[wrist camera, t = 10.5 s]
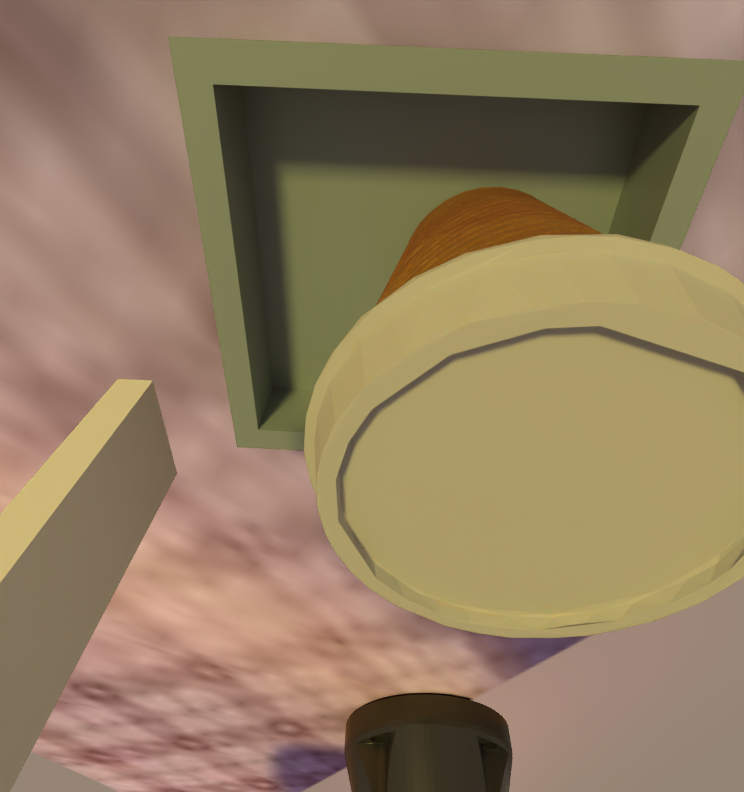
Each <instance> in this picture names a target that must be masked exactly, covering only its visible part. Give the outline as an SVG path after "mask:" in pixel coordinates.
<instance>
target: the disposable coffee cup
mask: <svg viewBox="0 0 744 792" xmlns="http://www.w3.org/2000/svg"><path fill="white" fill-rule="evenodd" d="M304 454H305V458H306V463H307V467H308V472H309V476H310V481H311V483H312V486H313V488H314V490H315V493H316V495H317V508H318V511H319V514H320V518H321V521H322V524H323V527H324V531H325V534H326V536H327V538H328V540H329V541H330V543H331V545H332V547H333V549H334V550H335V552H336V554H337V555H338V556H339V557H340V559H341V560H342V561H343V562H344V564H345V565H346V566H347V567H348V569H349V570H350V571H351V572H352V573H353V574H354V575H355V576H356V577H357V578H358V579H360V580H361V581H362V582H363V583H364V584H365V585H366V586H367V587H369V588H370V589H371V590H373V591H374V592H376V593H377V594H379V595H380V596H382V597H383V598H385V599H387V600H388V601H390V602H391V603H393V604H394V605H396V606H398V607H401V608H403V609H406V610H408V611H410V612H413V613H415V614H418V615H420V616H423V617H425V618H428V619H430V620H433V621H435V622H437V623H440V624H442V625H445V626H448V627H453V628H457V629H461V630H466V631H470V632H474V633H481V634H488V635H495V636H502V637H508V638H562V637H576V636H588V635H594V634H600V633H605V632H611V631H616V630H620V629H624V628H628V627H632V626H636V625H640V624H644V623H648V622H652V621H655V620H658V619H660V618H663V617H666V616H668V615H671V614H673V613H676V612H678V611H681V610H684V609H686V608H688V607H691V606H693V605H696V604H699V603H701V602H703V601H705V600H706V599H708V598H710V597H711V596H713V595H715V594H716V593H718V592H719V591H721V590H723V589H724V588H726V587H728V586H729V585H731V584H732V583H734V582H736V581H738V580H739V579H741V578H743V577H744V283H742V282H741V281H739V280H738V279H736V278H735V277H733V276H732V275H730V274H729V273H728V272H726V271H725V270H723V269H722V268H720V267H719V266H716V265H714V264H711V263H709V262H706V261H704V260H702V259H699V258H697V257H694V256H692V255H690V254H687V253H685V252H683V251H680V250H678V249H676V248H673V247H671V246H667V245H663V244H658V243H654V242H650V241H645V240H641V239H636V238H632V237H627V236H623V235H618V234H602V233H600V232H599V231H597V230H594V229H592V228H591V227H590V226H588V225H585V224H584V223H582V222H579V221H577V220H576V219H575V218H572V217H570V216H569V215H567V214H564V213H562V212H561V211H559V210H556V209H555V208H553V207H551V206H549V205H548V204H545V203H544V202H541V201H540V200H538V199H536V198H535V197H533V196H531V195H529V194H527V193H524V192H522V191H519V190H516V189H510V188H505V187H481V188H477V189H473V190H469V191H465V192H462V193H460V194H458V195H456V196H453V197H451V198H449V199H447V200H446V201H444V202H443V203H442V204H440V205H439V206H438V207H436V208H435V209H434V210H432V211H431V212H430V213H429V214H428V215H427V216H426V217H425V218H424V219H423V220H422V221H421V222H420V224H419V225H418V227H417V228H416V230H415V231H414V233H413V234H412V236H411V238H410V240H409V243H408V245H407V247H406V249H405V251H404V252H403V254H402V256H401V258H400V260H399V262H398V264H397V266H396V268H395V270H394V271H393V273H392V275H391V277H390V279H389V281H388V283H387V285H386V287H385V289H384V291H383V293H382V294H381V297H380V299H379V300H378V302H377V304H376V306H375V307H373V308H372V309H371V310H369V311H368V312H367V313H365V314H364V315H363V316H361V317H360V319H359V320H358V321H357V322H356V324H355V325H354V326H353V328H352V329H351V330H350V331H349V333H348V334H347V335H346V336H345V338H344V339H343V340H342V341H341V343H340V344H339V345H338V346H337V348H336V349H335V350H334V352H333V353H332V354H331V356H330V357H329V359H328V361H327V363H326V365H325V367H324V369H323V371H322V373H321V375H320V376H319V378H318V380H317V382H316V384H315V387H314V390H313V394H312V397H311V401H310V404H309V408H308V411H307V415H306V422H305V439H304Z"/></svg>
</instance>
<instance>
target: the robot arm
mask: <svg viewBox="0 0 744 792" xmlns="http://www.w3.org/2000/svg"><path fill="white" fill-rule="evenodd" d="M176 474H177V472H176V468H175V464H174V460H173V456H172V452H171V449H170V445H169V441H168V437H167V433H166V429H165V426H164V422H163V418H162V414H161V410H160V406H159V403H158V399H157V395H156V391H155V387H154V383H153V381H148V380H127V379H118V380H117V381H116V382H115V383H114V384H113V385H112V386H111V388H110V389H109V390H108V391H107V392H106V393H105V395H104V396H103V397H102V398H101V399H100V400H99V401H98V403H97V404H96V405H95V406H94V407H93V408H92V409H91V411H90V412H89V413H88V414H87V415H86V416H85V418H84V419H83V420H82V421H81V422H80V423H79V424H78V426H77V427H76V428H75V429H74V430H73V431H72V432H71V434H70V435H69V436H68V437H67V438H66V439H65V441H64V442H63V443H62V444H61V445H60V446H59V447H58V449H57V450H56V451H55V452H54V453H53V454H52V455H51V457H50V458H49V459H48V460H47V461H46V462H45V464H44V465H43V466H42V467H41V468H40V469H39V470H38V472H37V473H36V474H35V475H34V476H33V477H32V478H31V480H30V481H29V482H28V483H27V484H26V485H25V487H24V488H23V489H22V490H21V491H20V492H19V493H18V495H17V496H16V497H15V498H14V499H13V500H12V501H11V503H10V504H9V505H8V506H7V507H6V508H5V510H4V511H3V512H2V513H1V514H0V792H10V790H11V788H12V786H13V785H14V783H15V781H16V779H17V777H18V775H19V773H20V771H21V769H22V767H23V766H24V764H25V762H26V760H27V758H28V756H29V754H30V752H31V750H32V748H33V747H34V745H35V743H36V741H37V739H38V737H39V735H40V733H41V731H42V729H43V727H44V726H45V724H46V722H47V720H48V718H49V716H50V714H51V712H52V710H53V708H54V707H55V705H56V703H57V701H58V699H59V697H60V695H61V693H62V691H63V689H64V687H65V686H66V684H67V682H68V680H69V678H70V676H71V674H72V672H73V670H74V668H75V667H76V665H77V663H78V661H79V659H80V657H81V655H82V653H83V651H84V649H85V647H86V646H87V644H88V642H89V640H90V638H91V636H92V634H93V632H94V630H95V628H96V627H97V625H98V623H99V621H100V619H101V617H102V615H103V613H104V611H105V609H106V607H107V606H108V604H109V602H110V600H111V598H112V596H113V594H114V592H115V590H116V588H117V587H118V585H119V583H120V581H121V579H122V577H123V575H124V573H125V571H126V569H127V568H128V566H129V564H130V562H131V560H132V558H133V556H134V554H135V552H136V550H137V548H138V547H139V545H140V543H141V541H142V539H143V537H144V535H145V533H146V531H147V529H148V528H149V526H150V524H151V522H152V520H153V518H154V516H155V514H156V512H157V510H158V508H159V507H160V505H161V503H162V501H163V499H164V497H165V495H166V493H167V491H168V489H169V488H170V486H171V484H172V482H173V480H174V478H175V476H176ZM344 750H345V760H346V765H347V770H348V774H349V780H350V785H351V790H352V792H509V786H510V775H511V767H512V748H511V742H510V735H509V729H508V725H507V723H506V721H505V719H504V718H503V717H502V716H501V715H500V714H499V713H497V712H496V711H495V710H492V709H491V708H489V707H487V706H485V705H483V704H480V703H477V702H474V701H471V700H467V699H463V698H458V697H452V696H444V695H428V694H421V695H404V696H397V697H391V698H386V699H382V700H378V701H375V702H372V703H370V704H367V705H365V706H363V707H361V708H360V709H358V710H357V711H355V712H354V713H353V714H352V715H351V716H350V717H349V719H348V721H347V724H346V734H345V749H344Z"/></svg>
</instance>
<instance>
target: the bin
mask: <svg viewBox="0 0 744 792" xmlns="http://www.w3.org/2000/svg"><path fill="white" fill-rule="evenodd" d="M168 40H169V45H170V51H171V57H172V63H173V69H174V75H175V81H176V87H177V93H178V99H179V105H180V111H181V117H182V123H183V129H184V135H185V141H186V147H187V152H188V158H189V164H190V170H191V176H192V182H193V188H194V194H195V200H196V206H197V212H198V218H199V224H200V230H201V236H202V242H203V248H204V254H205V260H206V265H207V271H208V277H209V283H210V289H211V295H212V301H213V307H214V313H215V319H216V325H217V331H218V337H219V343H220V349H221V355H222V361H223V367H224V373H225V378H226V384H227V390H228V396H229V402H230V408H231V414H232V420H233V426H234V432H235V438H236V444H237V447H246V448H265V449H285V450H304V439H305V422H306V415H307V411H308V408H309V404H310V401H311V397H312V394H313V390H314V387H315V384H316V382H317V380H318V378H319V376H320V375H321V373H322V371H323V369H324V367H325V365H326V363H327V361H328V359H329V357H330V356H331V354H332V353H333V352H334V350H335V349H336V348H337V346H338V345H339V344H340V343H341V341H342V340H343V339H344V338H345V336H346V335H347V334H348V333H349V331H350V330H351V329H352V328H353V326H354V325H355V324H356V322H357V321H358V320H359V319H360V317H361V316H363V315H364V314H365V313H367V312H368V311H369V310H371V309H372V308H373V307H375V306H376V304H377V302H378V300H379V299H380V297H381V294H382V293H383V291H384V289H385V287H386V285H387V283H388V281H389V279H390V277H391V275H392V273H393V271H394V270H395V268H396V266H397V264H398V262H399V260H400V258H401V256H402V254H403V252H404V251H405V249H406V247H407V245H408V243H409V240H410V238H411V236H412V234H413V233H414V231H415V230H416V228H417V227H418V225H419V224H420V222H421V221H422V220H423V219H424V218H425V217H426V216H427V215H428V214H429V213H430V212H431V211H432V210H434V209H435V208H436V207H438V206H439V205H440V204H442V203H443V202H444V201H446V200H447V199H449V198H451V197H453V196H456V195H458V194H460V193H462V192H465V191H469V190H473V189H477V188H481V187H505V188H510V189H516V190H519V191H522V192H524V193H527V194H529V195H531V196H533V197H535V198H536V199H538V200H540V201H541V202H544V203H545V204H548V205H549V206H551V207H553V208H555V209H556V210H559V211H561V212H562V213H564V214H567V215H569V216H570V217H572V218H575V219H576V220H577V221H579V222H582V223H584V224H585V225H588V226H590V227H591V228H592V229H594V230H597V231H599V232H600V233H602V234H618V235H623V236H627V237H632V238H636V239H641V240H645V241H650V242H654V243H658V244H663V245H667V246H671V247H673V248H676V249H678V250H680V248H681V245H682V243H683V241H684V238H685V236H686V233H687V231H688V228H689V226H690V223H691V221H692V218H693V216H694V213H695V211H696V209H697V206H698V204H699V201H700V199H701V196H702V194H703V191H704V189H705V186H706V184H707V182H708V179H709V177H710V174H711V172H712V169H713V167H714V164H715V162H716V159H717V157H718V154H719V152H720V150H721V147H722V145H723V142H724V140H725V137H726V135H727V132H728V130H729V127H730V125H731V122H732V120H733V118H734V115H735V113H736V110H737V108H738V105H739V103H740V100H741V98H742V95H743V93H744V61H737V60H713V59H690V58H666V57H642V56H619V55H595V54H571V53H548V52H524V51H500V50H477V49H453V48H429V47H406V46H382V45H358V44H335V43H311V42H287V41H264V40H240V39H216V38H193V37H169V36H168Z"/></svg>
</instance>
